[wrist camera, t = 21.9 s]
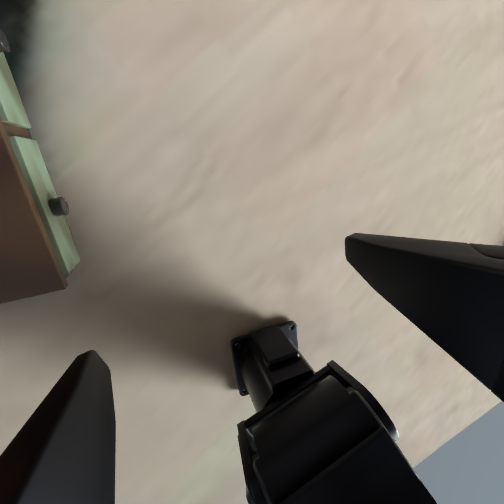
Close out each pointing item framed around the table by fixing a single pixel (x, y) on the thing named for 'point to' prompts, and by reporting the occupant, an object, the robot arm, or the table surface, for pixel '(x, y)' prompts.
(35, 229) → the low cabinet
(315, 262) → the table surface
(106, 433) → the robot arm
